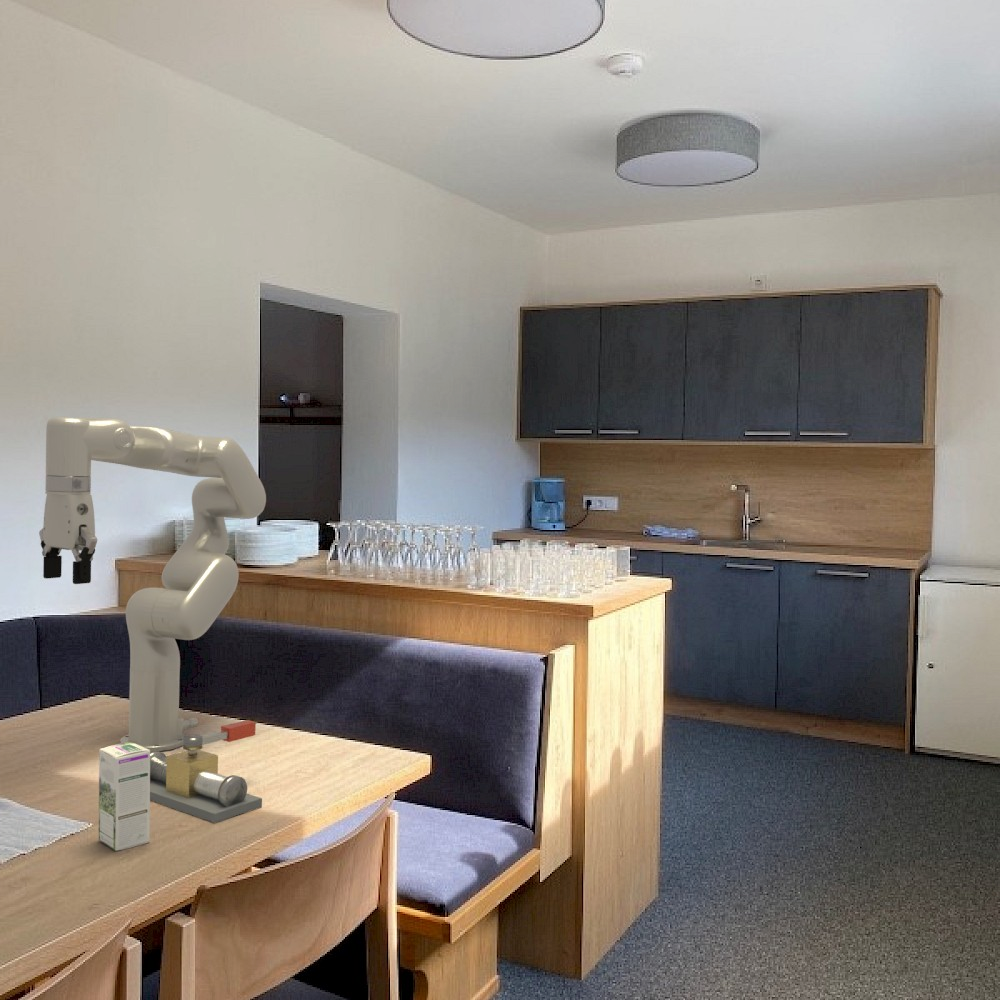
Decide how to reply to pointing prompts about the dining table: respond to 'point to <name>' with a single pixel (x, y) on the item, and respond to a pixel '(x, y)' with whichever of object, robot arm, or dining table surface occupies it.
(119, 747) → the syrup box
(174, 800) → the slate board
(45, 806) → the dining table surface
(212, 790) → the valve pipe
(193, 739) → the valve lever
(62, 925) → the dining table surface
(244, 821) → the dining table surface
